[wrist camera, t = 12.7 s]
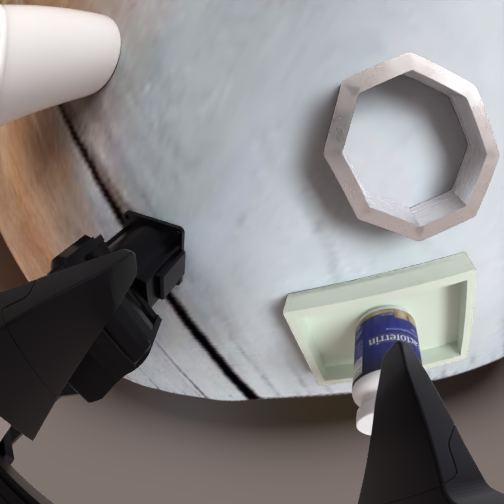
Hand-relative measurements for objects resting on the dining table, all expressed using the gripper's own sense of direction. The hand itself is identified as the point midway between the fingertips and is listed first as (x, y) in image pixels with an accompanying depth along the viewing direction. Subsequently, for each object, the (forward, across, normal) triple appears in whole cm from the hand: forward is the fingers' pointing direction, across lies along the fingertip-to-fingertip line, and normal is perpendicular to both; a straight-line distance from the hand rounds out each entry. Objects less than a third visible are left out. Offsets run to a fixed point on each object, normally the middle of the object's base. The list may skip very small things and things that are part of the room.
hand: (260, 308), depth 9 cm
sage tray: (+13, -11, +10) cm, 20 cm away
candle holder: (+13, +21, -8) cm, 26 cm away
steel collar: (+13, -6, -5) cm, 15 cm away
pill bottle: (+13, -11, +10) cm, 19 cm away
